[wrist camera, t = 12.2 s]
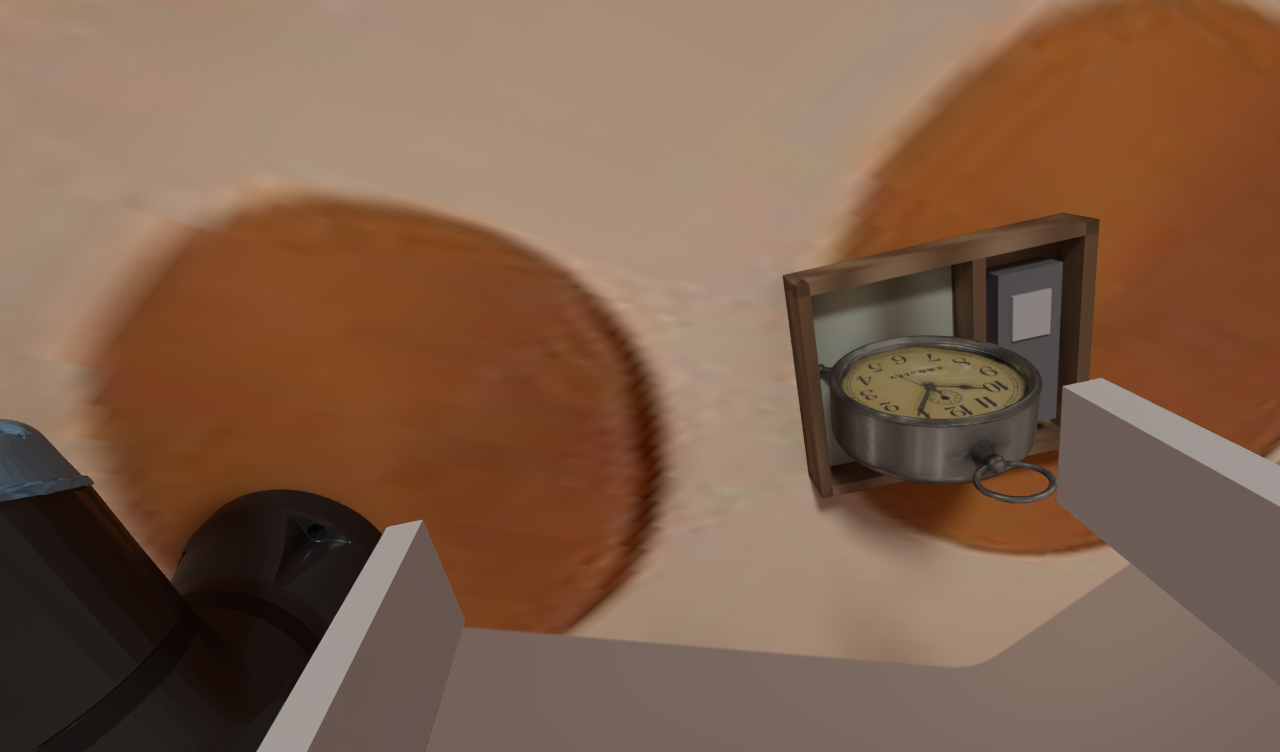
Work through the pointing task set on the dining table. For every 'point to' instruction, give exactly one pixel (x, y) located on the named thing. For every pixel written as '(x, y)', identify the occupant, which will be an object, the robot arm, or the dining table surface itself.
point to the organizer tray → (927, 319)
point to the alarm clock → (937, 410)
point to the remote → (1028, 318)
